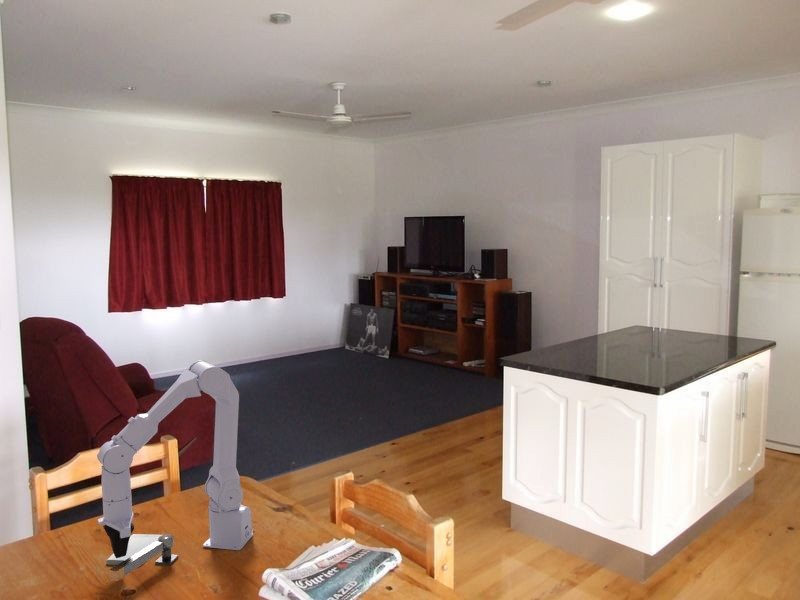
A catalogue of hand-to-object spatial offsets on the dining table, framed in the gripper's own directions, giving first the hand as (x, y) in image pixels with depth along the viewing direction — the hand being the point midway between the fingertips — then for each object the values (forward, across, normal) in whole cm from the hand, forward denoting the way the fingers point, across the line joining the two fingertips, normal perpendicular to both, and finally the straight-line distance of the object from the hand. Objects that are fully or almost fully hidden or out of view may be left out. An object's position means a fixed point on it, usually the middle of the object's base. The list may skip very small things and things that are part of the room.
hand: (120, 555), depth 142 cm
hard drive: (+4, -8, +5) cm, 10 cm away
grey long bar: (0, +5, +4) cm, 6 cm away
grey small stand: (+4, +1, +10) cm, 10 cm away
